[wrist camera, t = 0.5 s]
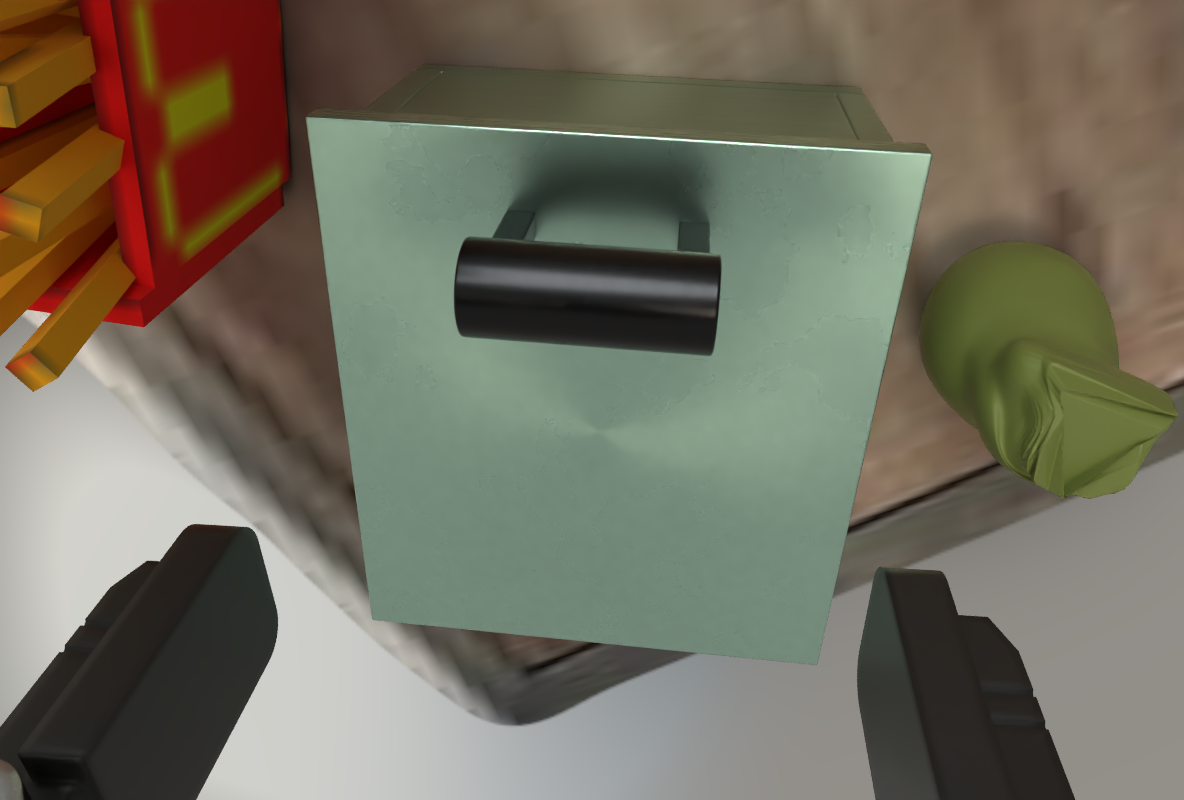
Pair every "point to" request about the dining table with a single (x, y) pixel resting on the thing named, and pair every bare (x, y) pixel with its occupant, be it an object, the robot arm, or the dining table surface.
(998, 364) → the pear
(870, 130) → the box
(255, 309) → the dining table surface
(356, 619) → the dining table surface
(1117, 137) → the dining table surface
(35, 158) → the french fries container
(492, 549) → the freezer lid
